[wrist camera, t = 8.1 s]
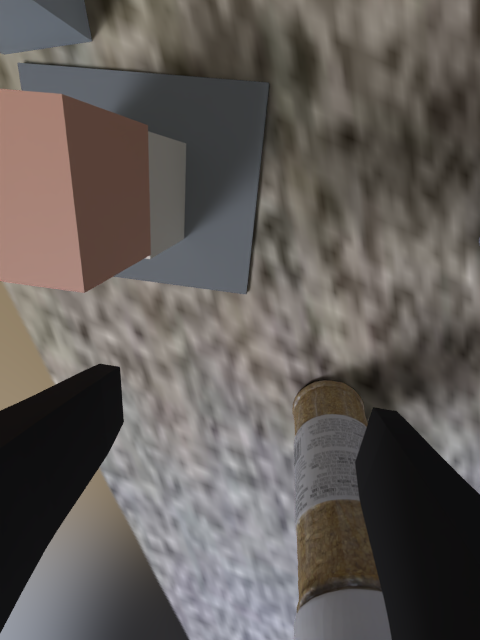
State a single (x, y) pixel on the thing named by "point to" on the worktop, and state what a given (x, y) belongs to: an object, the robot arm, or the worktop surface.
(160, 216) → the cream brick
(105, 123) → the terracotta brick
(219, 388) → the worktop surface
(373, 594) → the sprinkles bottle
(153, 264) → the mat
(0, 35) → the slate brick
